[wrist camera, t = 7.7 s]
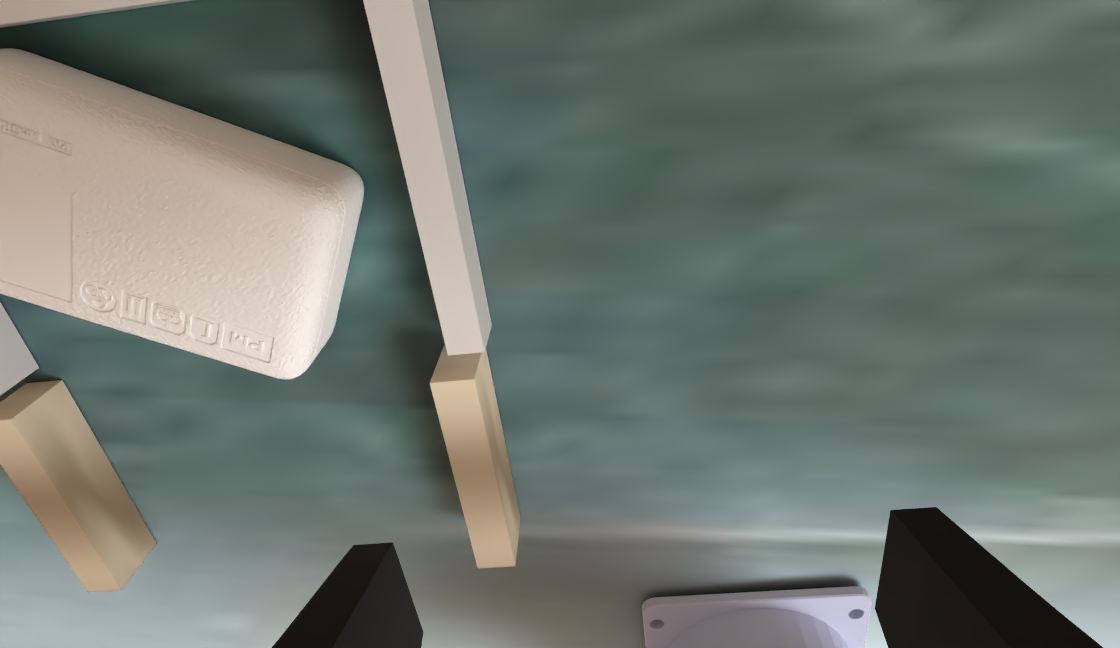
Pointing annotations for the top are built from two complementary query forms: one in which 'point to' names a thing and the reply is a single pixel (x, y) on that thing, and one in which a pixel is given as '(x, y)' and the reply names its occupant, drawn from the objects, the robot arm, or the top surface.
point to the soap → (168, 220)
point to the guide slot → (120, 532)
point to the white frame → (422, 146)
